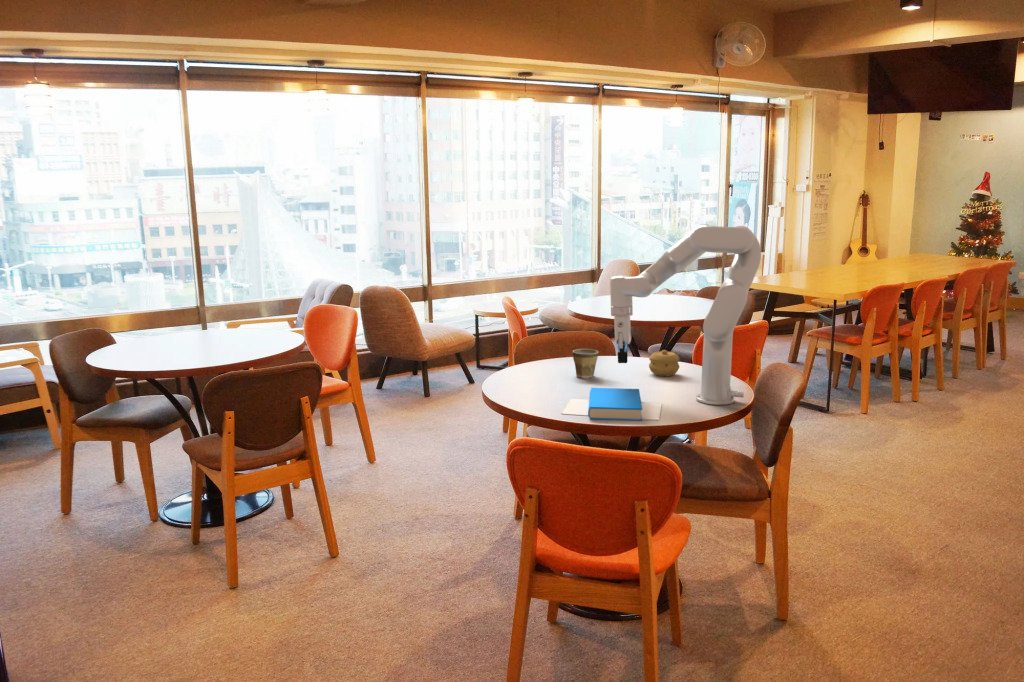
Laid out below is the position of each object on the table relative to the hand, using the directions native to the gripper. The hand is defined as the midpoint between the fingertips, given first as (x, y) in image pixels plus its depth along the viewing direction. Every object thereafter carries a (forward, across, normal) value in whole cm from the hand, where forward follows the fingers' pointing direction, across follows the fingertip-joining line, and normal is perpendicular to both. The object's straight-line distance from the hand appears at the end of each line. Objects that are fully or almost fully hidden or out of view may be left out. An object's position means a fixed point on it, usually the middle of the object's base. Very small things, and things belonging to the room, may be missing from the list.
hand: (622, 362), depth 281 cm
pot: (+12, +34, -12) cm, 38 cm away
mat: (+12, -20, +2) cm, 23 cm away
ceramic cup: (+11, +26, +18) cm, 33 cm away
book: (+12, -20, +1) cm, 24 cm away
